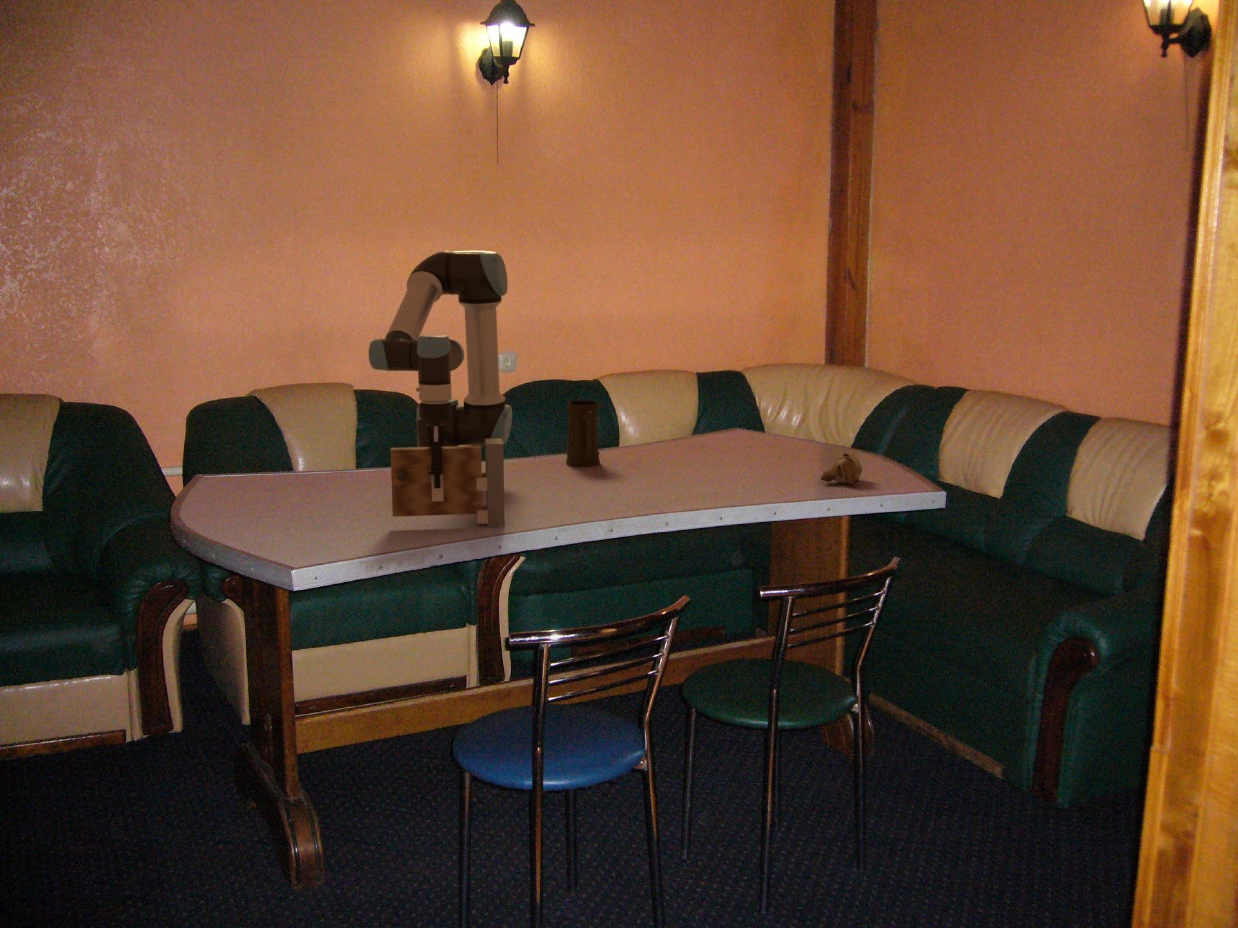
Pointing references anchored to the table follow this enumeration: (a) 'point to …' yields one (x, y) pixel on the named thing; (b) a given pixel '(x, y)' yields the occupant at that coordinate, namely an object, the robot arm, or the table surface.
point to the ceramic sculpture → (844, 470)
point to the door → (416, 482)
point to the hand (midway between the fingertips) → (437, 498)
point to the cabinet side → (492, 484)
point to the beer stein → (582, 434)
